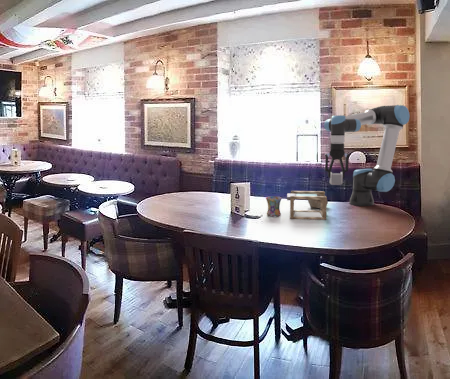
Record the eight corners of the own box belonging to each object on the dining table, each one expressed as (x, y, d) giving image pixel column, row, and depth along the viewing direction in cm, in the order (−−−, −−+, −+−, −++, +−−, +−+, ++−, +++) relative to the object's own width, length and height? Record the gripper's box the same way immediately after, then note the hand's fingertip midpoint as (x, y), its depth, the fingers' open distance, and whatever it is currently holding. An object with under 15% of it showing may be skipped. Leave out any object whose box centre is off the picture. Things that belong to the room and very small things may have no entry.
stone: (340, 183, 234) (340, 173, 233) (341, 184, 229) (341, 174, 228) (330, 183, 235) (331, 173, 234) (331, 184, 230) (332, 174, 229)
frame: (323, 212, 243) (324, 191, 241) (326, 219, 226) (326, 197, 224) (290, 211, 247) (290, 190, 245) (290, 218, 229) (290, 196, 227)
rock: (325, 195, 262) (330, 193, 255) (323, 211, 261) (328, 209, 253) (305, 191, 262) (309, 189, 254) (303, 207, 260) (307, 205, 252)
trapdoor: (316, 196, 240) (316, 193, 240) (317, 201, 227) (317, 197, 227) (287, 196, 243) (287, 192, 243) (287, 200, 230) (287, 197, 230)
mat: (319, 213, 241) (319, 212, 241) (321, 218, 229) (321, 217, 229) (294, 212, 244) (294, 211, 244) (294, 217, 231) (294, 216, 231)
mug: (283, 217, 234) (283, 199, 232) (267, 217, 234) (267, 199, 232) (279, 212, 246) (279, 195, 244) (264, 212, 246) (264, 195, 244)
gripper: (353, 142, 230) (351, 182, 234) (320, 142, 233) (319, 182, 237) (355, 143, 223) (353, 184, 227) (321, 143, 226) (320, 184, 230)
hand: (335, 183), depth 232 cm, fingers closed on stone, 5 cm apart
